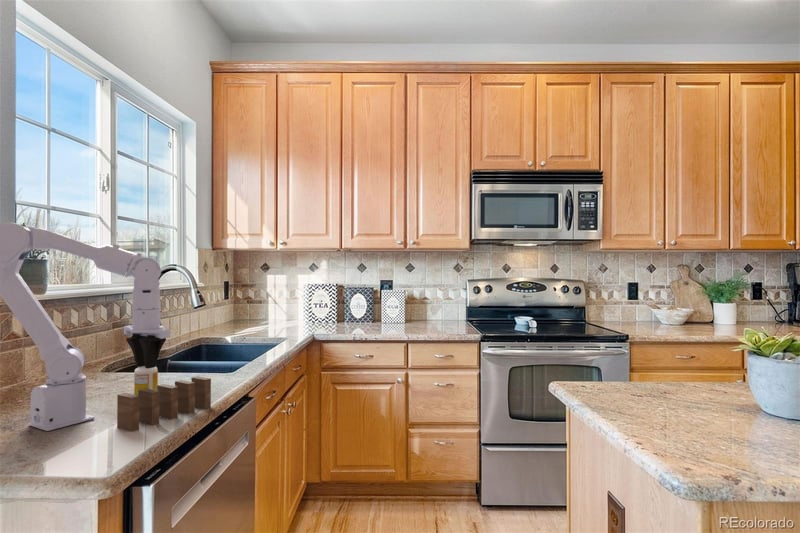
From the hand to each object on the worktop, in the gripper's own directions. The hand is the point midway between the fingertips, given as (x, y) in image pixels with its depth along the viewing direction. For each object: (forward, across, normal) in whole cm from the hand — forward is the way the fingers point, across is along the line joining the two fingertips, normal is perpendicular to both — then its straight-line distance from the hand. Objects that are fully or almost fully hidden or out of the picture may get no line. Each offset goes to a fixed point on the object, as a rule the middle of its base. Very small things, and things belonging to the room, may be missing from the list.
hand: (146, 367), depth 112 cm
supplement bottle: (+11, +12, -8) cm, 18 cm away
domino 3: (+10, -8, 0) cm, 13 cm away
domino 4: (+10, -8, -4) cm, 14 cm away
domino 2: (+10, -8, +5) cm, 14 cm away
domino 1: (+10, -8, +9) cm, 16 cm away
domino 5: (+10, -8, -9) cm, 16 cm away
